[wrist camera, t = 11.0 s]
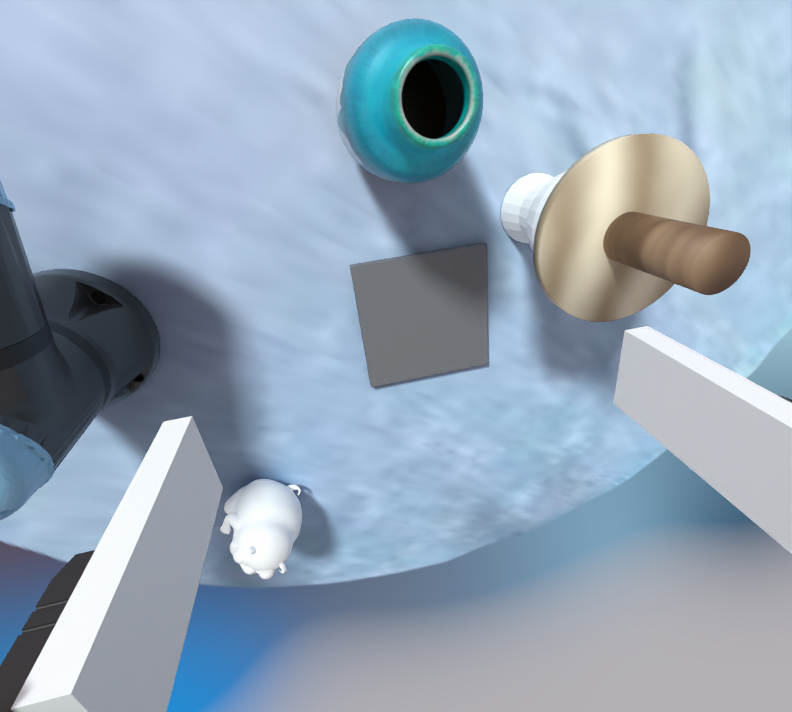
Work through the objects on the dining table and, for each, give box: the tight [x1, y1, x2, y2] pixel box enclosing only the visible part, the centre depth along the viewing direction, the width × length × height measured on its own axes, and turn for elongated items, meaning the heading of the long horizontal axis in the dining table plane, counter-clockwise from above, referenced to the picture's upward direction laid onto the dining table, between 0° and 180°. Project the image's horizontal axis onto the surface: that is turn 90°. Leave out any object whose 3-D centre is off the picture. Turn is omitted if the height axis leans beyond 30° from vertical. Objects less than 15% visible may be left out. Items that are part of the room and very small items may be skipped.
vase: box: [336, 19, 483, 183], centre depth 33 cm, size 11×11×19 cm
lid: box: [533, 134, 750, 322], centre depth 31 cm, size 15×15×10 cm
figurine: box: [220, 479, 302, 579], centre depth 55 cm, size 10×10×12 cm
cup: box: [501, 171, 566, 250], centre depth 42 cm, size 11×11×15 cm
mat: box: [350, 243, 488, 387], centre depth 51 cm, size 16×16×1 cm
